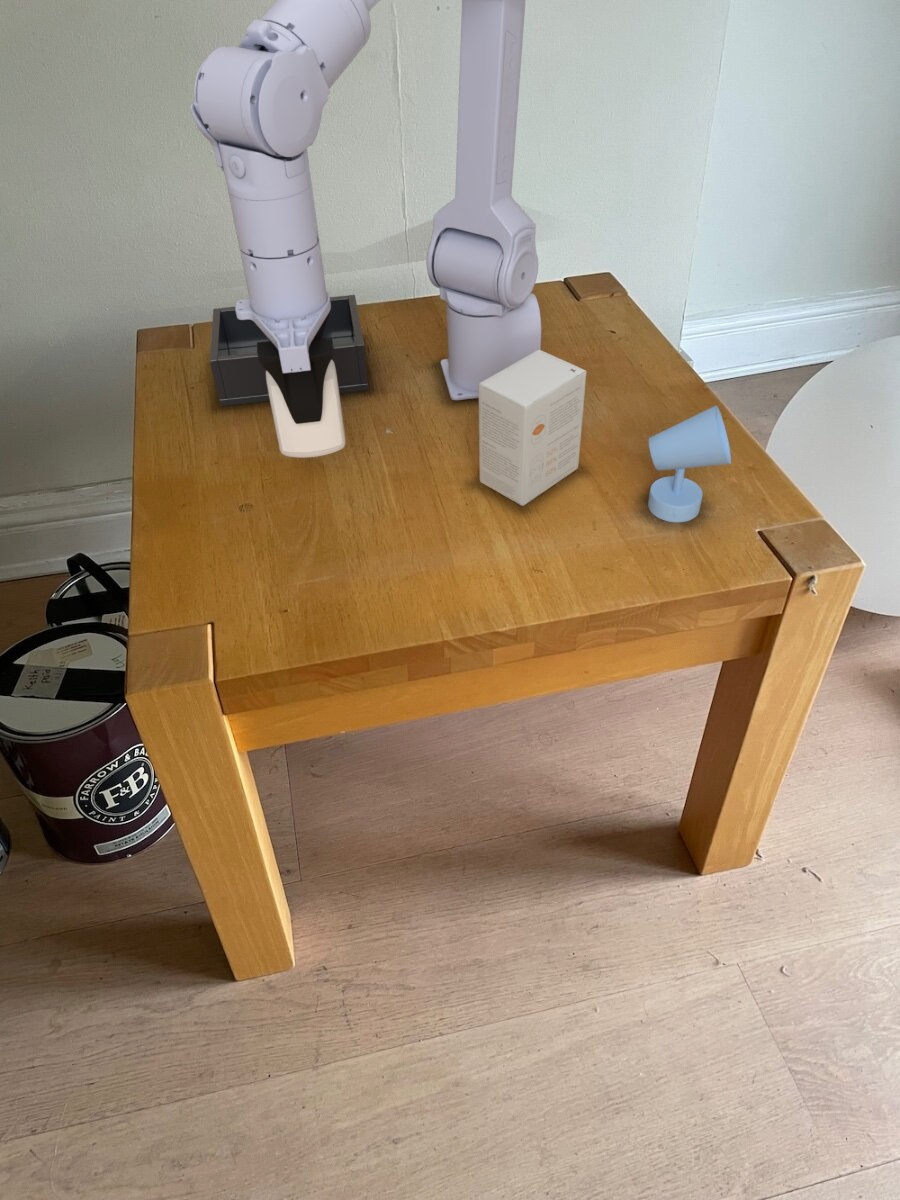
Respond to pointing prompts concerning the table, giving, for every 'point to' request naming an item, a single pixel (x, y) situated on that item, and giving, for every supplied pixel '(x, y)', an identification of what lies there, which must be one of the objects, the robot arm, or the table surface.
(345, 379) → the open rectangular box
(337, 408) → the eye dropper bottle
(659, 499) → the spotlight
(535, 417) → the small box
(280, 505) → the table surface
